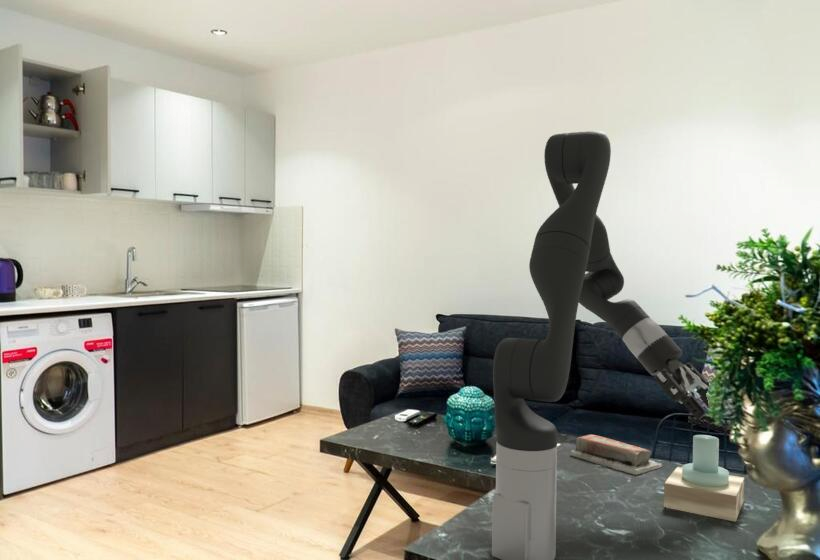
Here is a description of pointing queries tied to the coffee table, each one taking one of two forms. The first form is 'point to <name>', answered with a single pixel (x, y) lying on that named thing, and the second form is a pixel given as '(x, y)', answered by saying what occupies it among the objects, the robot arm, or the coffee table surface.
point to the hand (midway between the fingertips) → (710, 412)
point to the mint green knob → (705, 464)
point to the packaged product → (614, 454)
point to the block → (704, 497)
